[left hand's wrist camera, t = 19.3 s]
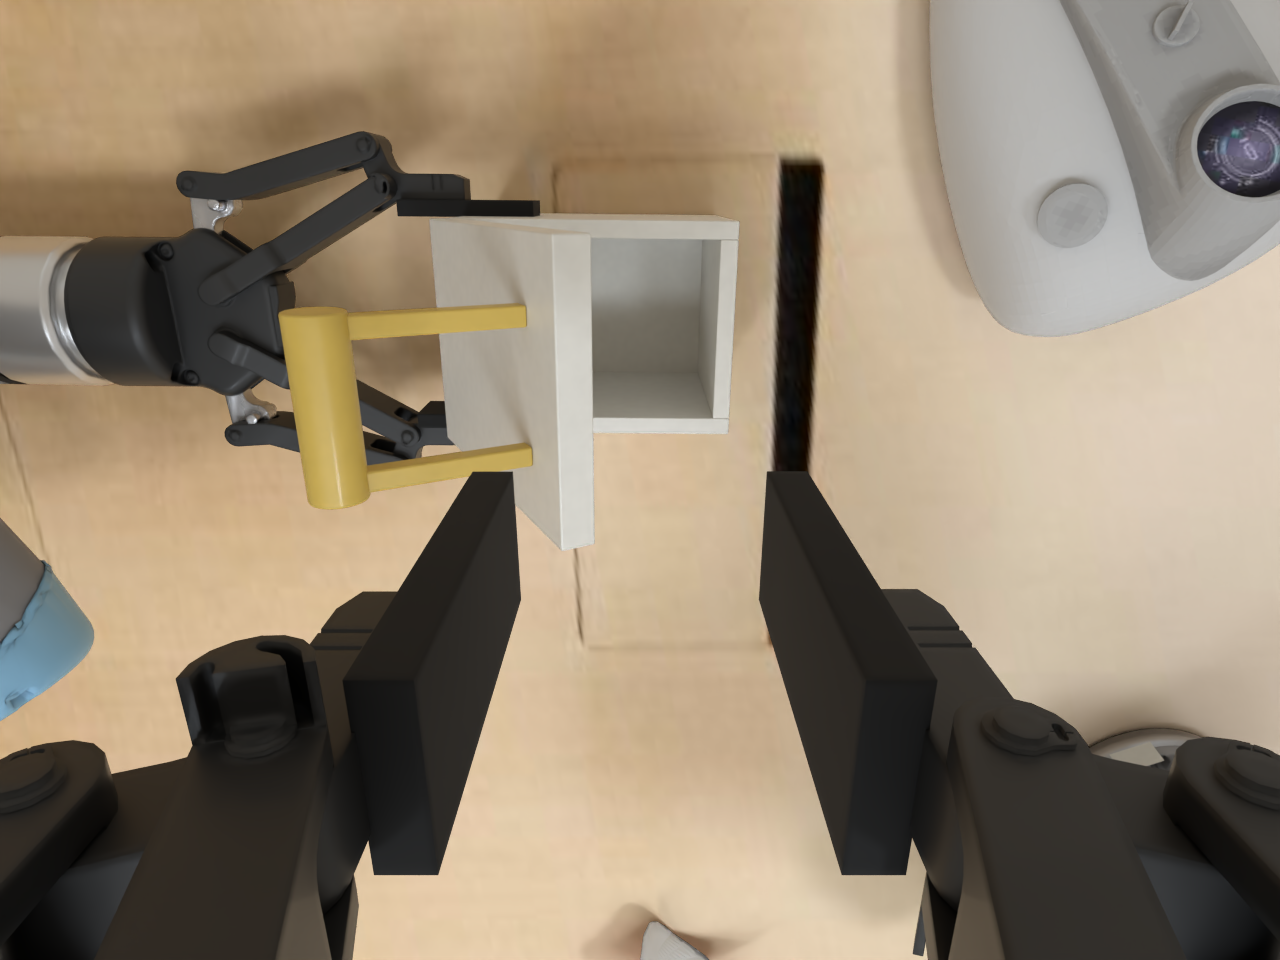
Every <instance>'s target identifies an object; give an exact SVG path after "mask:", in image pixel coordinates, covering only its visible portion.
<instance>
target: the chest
mask: <svg viewBox="0 0 1280 960" xmlns="http://www.w3.org/2000/svg"><path fill="white" fill-rule="evenodd" d="M451 218H457V219H467V220H476V221H485V222H494V223H504V224H513V225H522V226H531V227H540V228H550V229H559V230H568V231H577V232H586V233H590V234H591V291H592V371H593V433H665V434H728V428H729V409H730V391H731V373H732V355H733V336H734V318H735V300H736V281H737V263H738V245H739V241H738V239H739V226H740V222H739V221H736V220H732V219H729V218H725V217H721V216H717V215H662V214H570V213H540V216H535V217H495V216H460V217H451Z"/></svg>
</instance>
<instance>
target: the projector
mask: <svg viewBox="0 0 1280 960" xmlns="http://www.w3.org/2000/svg"><path fill="white" fill-rule="evenodd" d="M929 34H930V69H931V84H932V98H933V109H934V118H935V126H936V133H937V140H938V147H939V153H940V159H941V165H942V170H943V175H944V180H945V185H946V190H947V195H948V199H949V203H950V208H951V212H952V216H953V220H954V224H955V228H956V231H957V235H958V239H959V242H960V246H961V249H962V252H963V255H964V258H965V261H966V264H967V267H968V270H969V273H970V275H971V278H972V280H973V283H974V285H975V288H976V290H977V292H978V294H979V296H980V298H981V300H982V302H983V303H984V305H985V307H986V308H987V310H988V311H989V312H990V314H991V315H992V316H993V318H994V319H995V320H996V321H997V322H998V323H999V324H1000V325H1002V326H1003V327H1005V328H1007V329H1008V330H1010V331H1012V332H1015V333H1018V334H1022V335H1027V336H1038V337H1057V336H1066V335H1072V334H1077V333H1082V332H1086V331H1090V330H1094V329H1097V328H1100V327H1103V326H1107V325H1110V324H1113V323H1116V322H1119V321H1122V320H1125V319H1128V318H1131V317H1134V316H1136V315H1139V314H1142V313H1145V312H1147V311H1150V310H1153V309H1156V308H1158V307H1161V306H1163V305H1165V304H1167V303H1170V302H1172V301H1175V300H1177V299H1180V298H1182V297H1185V296H1187V295H1189V294H1191V293H1194V292H1196V291H1198V290H1200V289H1203V288H1205V287H1207V286H1209V285H1211V284H1213V283H1215V282H1217V281H1219V280H1221V279H1223V278H1225V277H1226V276H1228V275H1230V274H1232V273H1234V272H1236V271H1238V270H1240V269H1241V268H1243V267H1245V266H1246V265H1248V264H1250V263H1252V262H1253V261H1255V260H1257V259H1258V258H1260V257H1261V256H1263V255H1264V254H1266V253H1267V252H1268V251H1270V250H1271V249H1273V248H1274V247H1276V246H1277V245H1278V244H1280V0H930V16H929Z"/></svg>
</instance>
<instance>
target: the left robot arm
mask: <svg viewBox="0 0 1280 960" xmlns="http://www.w3.org/2000/svg"><path fill="white" fill-rule="evenodd" d="M520 601H521V592H520V576H519V560H518V544H517V528H516V512H515V496H514V480H513V472H472V473H471V475H470V477H469V478H468V480H467V481H466V483H465V485H464V486H463V488H462V489H461V491H460V493H459V494H458V496H457V497H456V499H455V501H454V502H453V504H452V505H451V507H450V509H449V510H448V512H447V513H446V515H445V517H444V518H443V520H442V521H441V523H440V525H439V526H438V528H437V529H436V531H435V533H434V534H433V536H432V537H431V539H430V541H429V542H428V544H427V545H426V547H425V549H424V550H423V552H422V553H421V555H420V557H419V558H418V560H417V561H416V563H415V565H414V566H413V568H412V569H411V571H410V573H409V574H408V576H407V578H406V579H405V581H404V582H403V584H402V586H401V587H400V589H399V590H398V592H362V593H360V594H359V595H357V596H355V597H354V598H352V599H351V600H349V601H348V602H346V603H345V604H343V605H342V606H340V607H339V608H337V609H336V610H335V611H334V613H333V614H332V615H331V617H330V618H329V619H328V621H327V622H326V623H325V625H324V626H323V627H322V629H321V633H318V634H317V635H316V637H315V638H314V639H313V641H312V642H311V643H310V645H309V644H308V643H307V642H306V641H305V640H303V639H299V638H294V637H290V636H286V635H275V636H258V637H253V638H248V639H244V640H239V641H235V642H232V643H229V644H227V645H224V646H222V647H219V648H216V649H214V650H211V651H209V652H208V653H206V654H204V655H203V656H201V657H199V658H198V659H196V660H195V661H193V662H191V663H190V664H189V665H188V666H187V667H186V668H185V669H184V670H183V671H182V672H181V673H180V675H179V676H178V677H177V678H176V682H177V686H178V690H179V694H180V698H181V702H182V706H183V710H184V714H185V717H186V721H187V725H188V729H189V733H190V737H191V741H192V745H193V746H192V748H191V750H190V752H189V755H188V757H186V758H182V759H179V760H175V761H171V762H167V763H162V764H157V765H153V766H148V767H143V768H138V769H134V770H129V771H124V772H119V773H115V774H111V771H110V768H109V765H108V762H107V758H106V755H105V753H104V752H103V751H102V750H101V749H100V748H98V747H97V746H96V745H95V744H94V743H87V742H81V741H74V740H71V741H62V742H54V743H46V744H42V745H37V746H33V747H31V748H29V749H27V748H26V749H23V750H20V751H17V752H14V753H12V754H10V755H8V756H7V757H5V758H3V759H1V760H0V960H352V958H353V949H354V941H355V933H356V924H357V916H358V908H359V904H358V896H357V889H356V883H355V878H354V872H355V870H356V868H357V865H358V863H359V861H360V858H361V856H362V854H363V851H364V849H365V847H366V844H367V842H368V841H369V847H370V853H371V859H372V865H373V871H374V875H438V874H439V870H440V867H441V864H442V860H443V857H444V854H445V850H446V847H447V844H448V841H449V837H450V834H451V831H452V827H453V824H454V821H455V817H456V814H457V811H458V807H459V804H460V801H461V797H462V794H463V791H464V787H465V784H466V781H467V777H468V774H469V771H470V767H471V764H472V761H473V757H474V754H475V751H476V747H477V744H478V741H479V737H480V734H481V731H482V727H483V724H484V721H485V717H486V714H487V711H488V707H489V704H490V701H491V697H492V694H493V691H494V688H495V684H496V681H497V678H498V674H499V671H500V668H501V664H502V661H503V658H504V654H505V651H506V648H507V644H508V641H509V638H510V634H511V631H512V628H513V624H514V621H515V618H516V614H517V611H518V608H519V604H520ZM759 601H760V604H761V608H762V611H763V614H764V618H765V621H766V624H767V628H768V631H769V634H770V638H771V641H772V644H773V648H774V651H775V654H776V658H777V661H778V664H779V668H780V671H781V674H782V678H783V681H784V684H785V688H786V691H787V694H788V697H789V701H790V704H791V707H792V711H793V714H794V717H795V721H796V724H797V727H798V731H799V734H800V737H801V741H802V744H803V747H804V751H805V754H806V757H807V761H808V764H809V767H810V771H811V774H812V777H813V781H814V784H815V787H816V791H817V794H818V797H819V801H820V804H821V807H822V811H823V814H824V817H825V821H826V824H827V827H828V831H829V834H830V837H831V841H832V844H833V847H834V850H835V854H836V857H837V860H838V864H839V867H840V870H841V874H842V875H906V871H907V865H908V859H909V853H910V847H911V841H912V838H913V840H914V843H915V845H916V847H917V850H918V852H919V854H920V857H921V859H922V861H923V864H924V866H925V868H926V871H927V872H926V878H925V883H924V889H923V895H922V900H921V906H920V912H919V917H918V923H917V929H916V934H915V941H914V949H913V954H915V955H919V956H923V954H924V948H925V943H926V948H927V956H928V960H1280V755H1277V754H1275V753H1274V752H1272V751H1270V750H1268V749H1265V748H1263V747H1260V746H1257V745H1250V743H1246V742H1242V741H1237V740H1231V739H1222V738H1214V737H1204V738H1202V737H1200V736H1198V735H1195V734H1192V733H1189V732H1185V731H1180V730H1174V729H1145V730H1137V731H1132V732H1128V733H1124V734H1120V735H1117V736H1114V737H1111V738H1109V739H1106V740H1104V741H1102V742H1099V743H1097V744H1095V745H1093V746H1092V747H1090V748H1089V747H1088V745H1087V743H1086V742H1085V741H1084V739H1083V738H1082V737H1081V735H1080V734H1079V733H1078V731H1077V730H1076V729H1075V728H1074V727H1073V726H1071V725H1070V724H1068V723H1067V722H1066V721H1064V720H1063V719H1062V718H1060V717H1059V716H1057V715H1056V714H1054V713H1052V712H1050V711H1047V710H1045V709H1043V708H1041V707H1038V706H1036V705H1034V704H1032V703H1028V702H1024V701H1020V700H1015V699H1014V698H1013V697H1012V696H1011V694H1010V693H1009V692H1008V691H1007V689H1006V688H1005V687H1004V685H1003V684H1002V683H1001V681H1000V680H999V679H998V677H997V676H996V675H995V673H994V672H993V671H992V669H991V668H990V667H989V665H988V664H987V663H986V661H985V660H984V659H983V657H982V656H981V655H980V653H979V652H978V651H977V649H976V648H972V643H971V641H970V640H969V639H968V638H967V636H966V635H965V634H964V632H963V631H960V630H959V626H958V624H957V623H956V622H955V620H954V619H953V618H952V616H951V615H950V614H949V612H948V611H947V610H946V608H945V607H944V606H943V605H941V604H940V603H938V602H936V601H935V600H933V599H932V598H930V597H929V596H927V595H926V594H924V593H923V592H921V591H919V590H918V589H880V587H879V586H878V584H877V582H876V581H875V579H874V578H873V576H872V574H871V573H870V571H869V569H868V568H867V566H866V565H865V563H864V561H863V560H862V558H861V557H860V555H859V553H858V552H857V550H856V549H855V547H854V545H853V544H852V542H851V541H850V539H849V537H848V536H847V534H846V533H845V531H844V529H843V528H842V526H841V525H840V523H839V521H838V520H837V518H836V517H835V515H834V513H833V512H832V510H831V509H830V507H829V505H828V504H827V502H826V501H825V499H824V497H823V496H822V494H821V493H820V491H819V489H818V488H817V486H816V485H815V483H814V481H813V480H812V478H811V477H810V475H809V473H808V472H767V480H766V496H765V512H764V528H763V544H762V560H761V576H760V592H759Z"/></svg>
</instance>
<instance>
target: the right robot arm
mask: <svg viewBox="0 0 1280 960" xmlns="http://www.w3.org/2000/svg"><path fill="white" fill-rule="evenodd" d="M361 168H364V170H365V173H366V175H367V177H368V179H367V180H365V181H364V182H362V183H361V184H359V185H358V186H356V187H355V188H353V189H351V190H350V191H348V192H347V193H345V194H344V195H342V196H341V197H339V198H337V199H336V200H334V201H333V202H331V203H330V204H328V205H327V206H325V207H323V208H322V209H320V210H319V211H317V212H316V213H314V214H313V215H311V216H309V217H308V218H306V219H305V220H303V221H302V222H300V223H299V224H297V225H295V226H294V227H292V228H291V229H289V230H288V231H286V232H285V233H283V234H281V235H280V236H278V237H277V238H275V239H274V240H272V241H270V242H268V243H265V244H263V245H261V246H259V247H257V248H256V249H254V250H253V249H252V248H250V247H249V246H247V245H246V244H244V243H243V242H241V241H240V240H238V239H237V238H235V237H234V236H232V235H231V234H229V233H228V232H226V231H225V230H223V225H224V222H225V220H226V219H228V218H229V217H233V216H237V215H238V214H239V213H240V212H241V210H242V207H243V203H242V200H256V199H262V198H266V197H270V196H273V195H276V194H279V193H283V192H286V191H289V190H292V189H296V188H299V187H302V186H305V185H309V184H312V183H315V182H318V181H322V180H325V179H328V178H332V177H335V176H338V175H341V174H345V173H348V172H351V171H354V170H358V169H361ZM176 184H177V187H178V189H179V191H180V192H181V193H182V194H183V195H185V196H186V197H190V201H191V210H192V218H193V226H194V229H192V230H190V231H188V232H187V233H186V234H184V235H182V236H180V237H99V238H96V239H92V238H89V237H74V236H0V384H44V385H88V386H106V385H111V384H118V385H124V386H201V387H206V388H209V389H211V390H214V391H216V392H218V393H220V394H222V395H225V397H226V401H227V404H228V408H229V412H230V416H231V420H232V425H230V426H228V427H227V428H226V430H225V438H226V440H227V441H228V442H229V443H230V444H232V445H234V446H252V445H269V444H270V445H274V446H277V447H281V448H285V449H289V450H292V451H296V452H300V448H299V442H298V436H297V429H296V423H295V417H294V412H285V411H276V410H277V408H276V406H275V405H274V404H272V403H269V402H266V401H261V400H259V399H257V398H256V397H255V396H254V395H253V393H252V391H251V389H252V388H254V387H255V386H256V385H257V384H259V383H260V382H261V381H262V380H264V379H266V380H268V381H270V382H272V383H274V384H276V385H278V386H280V387H282V388H285V389H290V386H289V379H288V373H287V367H286V360H285V354H284V348H283V342H282V335H281V329H280V323H279V317H278V315H279V312H281V311H284V310H288V309H294V306H295V297H296V296H295V289H294V282H289V280H288V278H287V276H286V274H288V273H289V272H291V271H292V270H294V269H296V268H297V267H299V266H300V265H302V264H303V263H305V262H306V261H307V259H309V258H310V257H312V256H313V255H315V254H317V253H318V252H320V251H321V250H323V249H325V248H326V247H328V246H329V245H331V244H332V243H334V242H336V241H337V240H339V239H340V238H342V237H344V236H345V235H347V234H348V233H350V232H351V231H353V230H355V229H356V228H358V227H359V226H361V225H363V224H364V223H366V222H367V221H369V220H370V219H372V218H374V217H375V216H377V215H378V214H380V213H382V212H383V211H385V210H386V209H388V208H389V207H391V206H393V205H394V204H396V203H397V212H398V216H436V217H460V216H495V217H535V216H540V201H528V200H471V193H470V179H467V178H465V177H463V176H460V175H455V174H407V173H405V172H403V171H402V170H401V169H400V168H399V167H398V165H397V163H396V161H395V159H394V157H393V154H392V146H391V144H390V142H389V140H388V139H386V138H385V137H383V136H380V135H376V134H372V133H368V132H364V131H363V132H356V133H353V134H350V135H347V136H344V137H340V138H337V139H334V140H331V141H327V142H324V143H321V144H318V145H315V146H311V147H308V148H305V149H302V150H299V151H295V152H292V153H289V154H286V155H282V156H279V157H276V158H273V159H270V160H266V161H263V162H260V163H257V164H254V165H250V166H247V167H244V168H241V169H237V170H234V171H231V172H228V173H216V172H200V171H182V172H181V173H180V174H179V175H178V176H177V180H176ZM356 382H357V390H358V398H359V406H360V414H361V421H362V425H364V426H366V427H367V428H369V429H371V430H373V431H375V432H377V433H379V434H381V435H383V436H385V437H383V436H380V435H376V434H372V433H368V432H365V431H363V437H364V445H365V453H366V461H367V466H368V465H375V464H382V463H388V462H395V461H402V460H409V459H415V458H421V457H422V453H421V452H422V449H423V446H425V445H455V444H454V443H453V442H452V441H451V440H450V439H449V438H448V435H447V423H446V411H445V401H430V402H429V403H428V404H427V405H426V406H425V407H424V408H423V409H422V410H421V411H420V412H417V411H415V410H414V409H412V408H410V407H408V406H406V405H404V404H402V403H400V402H398V401H397V400H395V399H393V398H391V397H389V396H387V395H385V394H383V393H381V392H380V391H378V390H376V389H374V388H372V387H370V386H368V385H366V384H364V383H363V382H361V381H359V380H357V379H356ZM93 641H94V630H93V627H92V625H91V623H90V621H89V620H88V619H87V617H86V616H85V614H84V613H83V612H82V610H81V609H80V608H79V606H78V605H77V604H76V602H75V601H74V600H73V598H72V597H71V596H70V594H69V593H68V592H67V590H66V589H65V588H64V586H63V585H62V584H61V582H60V581H59V580H58V578H57V577H56V576H55V574H54V573H53V571H52V568H51V566H50V565H49V564H47V563H46V562H45V560H39V559H38V558H37V557H36V556H35V555H34V553H33V552H32V551H31V550H30V549H29V548H28V547H27V546H26V545H25V544H24V543H23V542H22V541H21V540H20V538H19V537H18V536H17V535H16V534H15V533H14V532H13V531H12V530H11V529H10V528H9V527H8V526H7V525H6V524H5V522H4V521H3V520H2V519H1V518H0V721H1V720H3V719H4V718H6V717H7V716H9V715H11V714H12V713H14V712H15V711H17V710H18V709H19V708H20V707H21V706H22V705H24V704H25V703H27V702H28V701H30V700H31V699H33V698H34V697H36V696H38V695H40V694H41V693H43V692H44V691H46V690H47V689H48V688H50V687H51V686H52V685H54V684H55V683H56V682H58V681H59V680H60V679H61V678H63V677H64V676H65V675H66V674H68V673H69V672H70V671H71V670H72V669H73V668H74V667H76V666H77V665H78V664H79V663H80V662H81V661H82V660H83V659H84V657H85V656H86V655H87V653H88V652H89V651H90V649H91V647H92V644H93Z"/></svg>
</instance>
